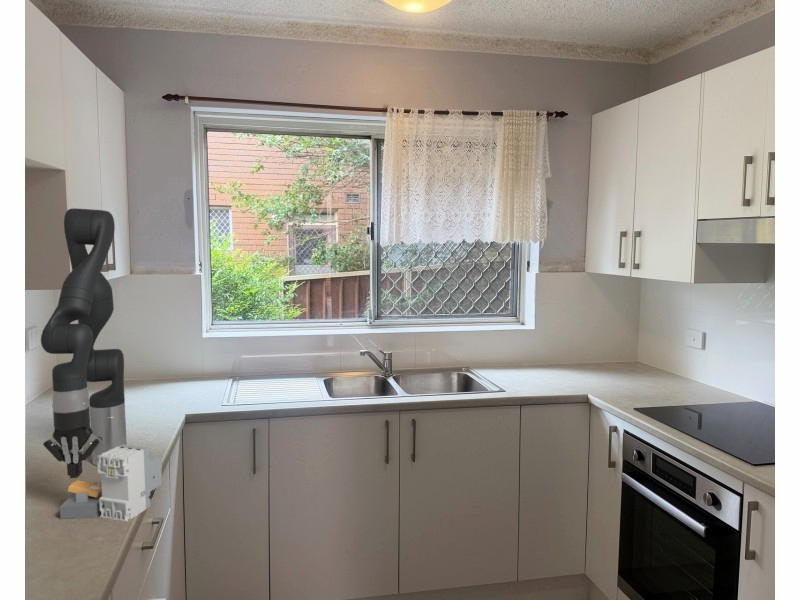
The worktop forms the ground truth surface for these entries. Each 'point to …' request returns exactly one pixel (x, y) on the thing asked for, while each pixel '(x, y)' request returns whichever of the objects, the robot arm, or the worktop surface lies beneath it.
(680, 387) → the worktop surface
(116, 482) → the electrical contactor
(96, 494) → the block
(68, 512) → the switch box
